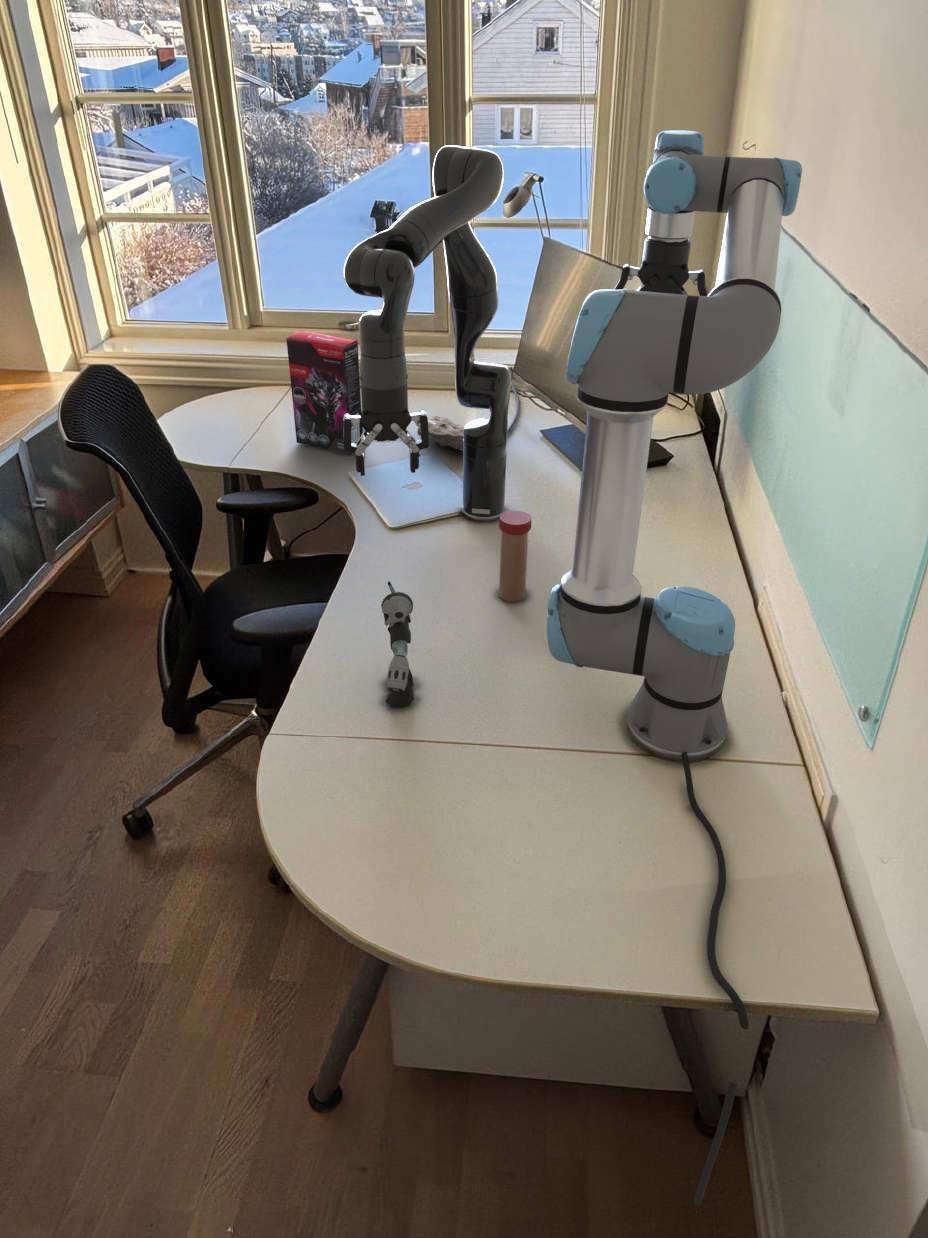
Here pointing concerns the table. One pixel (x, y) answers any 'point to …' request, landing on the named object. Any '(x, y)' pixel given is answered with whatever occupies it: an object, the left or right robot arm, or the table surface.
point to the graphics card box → (324, 388)
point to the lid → (515, 522)
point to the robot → (398, 647)
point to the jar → (513, 566)
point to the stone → (445, 432)
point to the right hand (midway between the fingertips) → (652, 364)
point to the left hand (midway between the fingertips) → (387, 472)
